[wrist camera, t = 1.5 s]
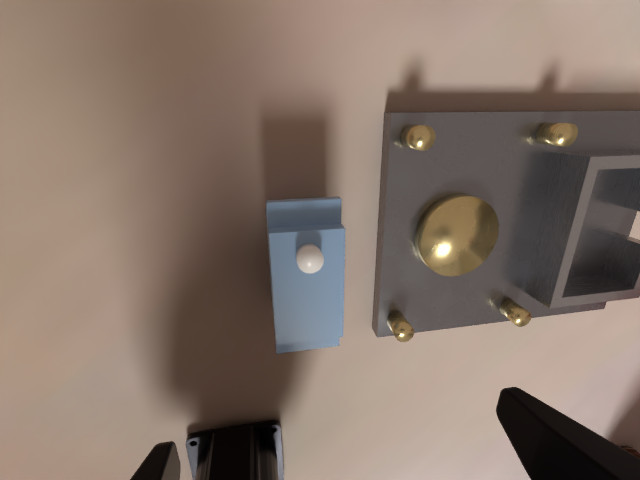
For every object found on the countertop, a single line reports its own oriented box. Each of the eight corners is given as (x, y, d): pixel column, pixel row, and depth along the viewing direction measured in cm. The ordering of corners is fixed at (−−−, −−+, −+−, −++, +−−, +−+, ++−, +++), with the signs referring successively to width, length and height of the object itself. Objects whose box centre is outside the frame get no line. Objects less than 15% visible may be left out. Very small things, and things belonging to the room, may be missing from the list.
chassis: (591, 301, 26) (634, 325, 23) (372, 328, 23) (389, 359, 20) (653, 110, 21) (717, 110, 18) (384, 112, 18) (409, 112, 15)
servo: (334, 309, 22) (356, 362, 17) (272, 316, 22) (278, 373, 17) (335, 183, 19) (362, 206, 14) (264, 186, 19) (267, 211, 14)
